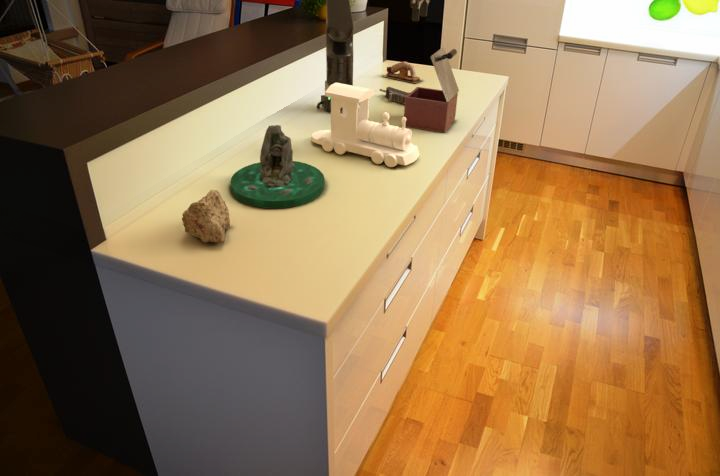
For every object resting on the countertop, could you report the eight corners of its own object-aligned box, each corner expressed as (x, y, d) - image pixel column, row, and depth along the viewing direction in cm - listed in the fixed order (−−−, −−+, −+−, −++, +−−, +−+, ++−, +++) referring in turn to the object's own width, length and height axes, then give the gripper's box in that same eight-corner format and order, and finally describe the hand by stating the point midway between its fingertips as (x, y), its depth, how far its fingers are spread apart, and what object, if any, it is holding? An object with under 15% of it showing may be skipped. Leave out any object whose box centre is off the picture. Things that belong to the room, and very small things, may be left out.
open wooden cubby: (403, 126, 201) (405, 97, 196) (415, 114, 211) (417, 86, 206) (444, 132, 197) (447, 103, 192) (454, 120, 207) (457, 92, 202)
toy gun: (463, 110, 218) (437, 119, 208) (397, 89, 236) (371, 96, 227) (464, 100, 216) (438, 109, 207) (398, 80, 234) (371, 87, 225)
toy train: (405, 171, 170) (410, 106, 160) (302, 145, 184) (301, 84, 174) (423, 157, 179) (429, 94, 169) (324, 133, 193) (324, 74, 184)
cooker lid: (430, 56, 187) (446, 50, 184) (441, 48, 197) (457, 42, 194) (446, 102, 192) (463, 97, 189) (456, 91, 202) (472, 86, 199)
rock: (167, 214, 132) (199, 198, 128) (198, 194, 143) (228, 179, 139) (193, 256, 135) (225, 242, 130) (221, 234, 146) (252, 220, 141)
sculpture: (389, 73, 255) (390, 56, 251) (423, 80, 248) (424, 62, 244) (381, 77, 250) (382, 60, 246) (415, 84, 243) (417, 66, 239)
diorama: (217, 203, 150) (211, 147, 143) (247, 163, 172) (243, 112, 164) (313, 212, 148) (312, 155, 140) (332, 170, 169) (332, 119, 161)
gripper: (418, -39, 195) (415, 13, 203) (404, -35, 183) (401, 21, 192) (441, -37, 192) (436, 16, 201) (428, -33, 181) (423, 23, 189)
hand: (419, 18), depth 196 cm, fingers open, 8 cm apart
